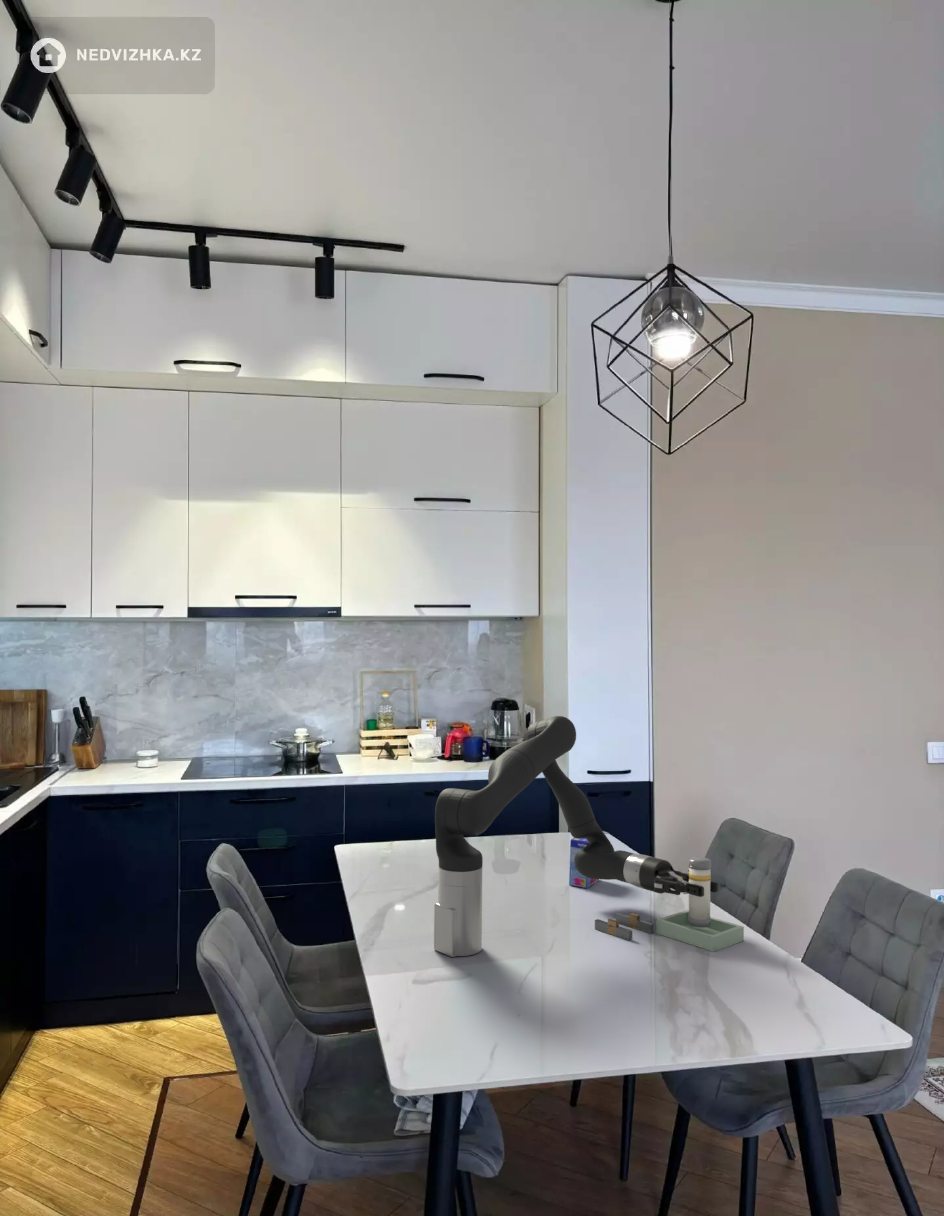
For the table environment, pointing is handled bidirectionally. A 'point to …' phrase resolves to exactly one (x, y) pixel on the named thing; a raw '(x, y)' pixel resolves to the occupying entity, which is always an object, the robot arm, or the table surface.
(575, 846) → the ink cartridge box
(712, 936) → the tray
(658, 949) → the table surface
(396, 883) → the table surface
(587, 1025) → the table surface
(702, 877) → the cylinder
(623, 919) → the clip rails
